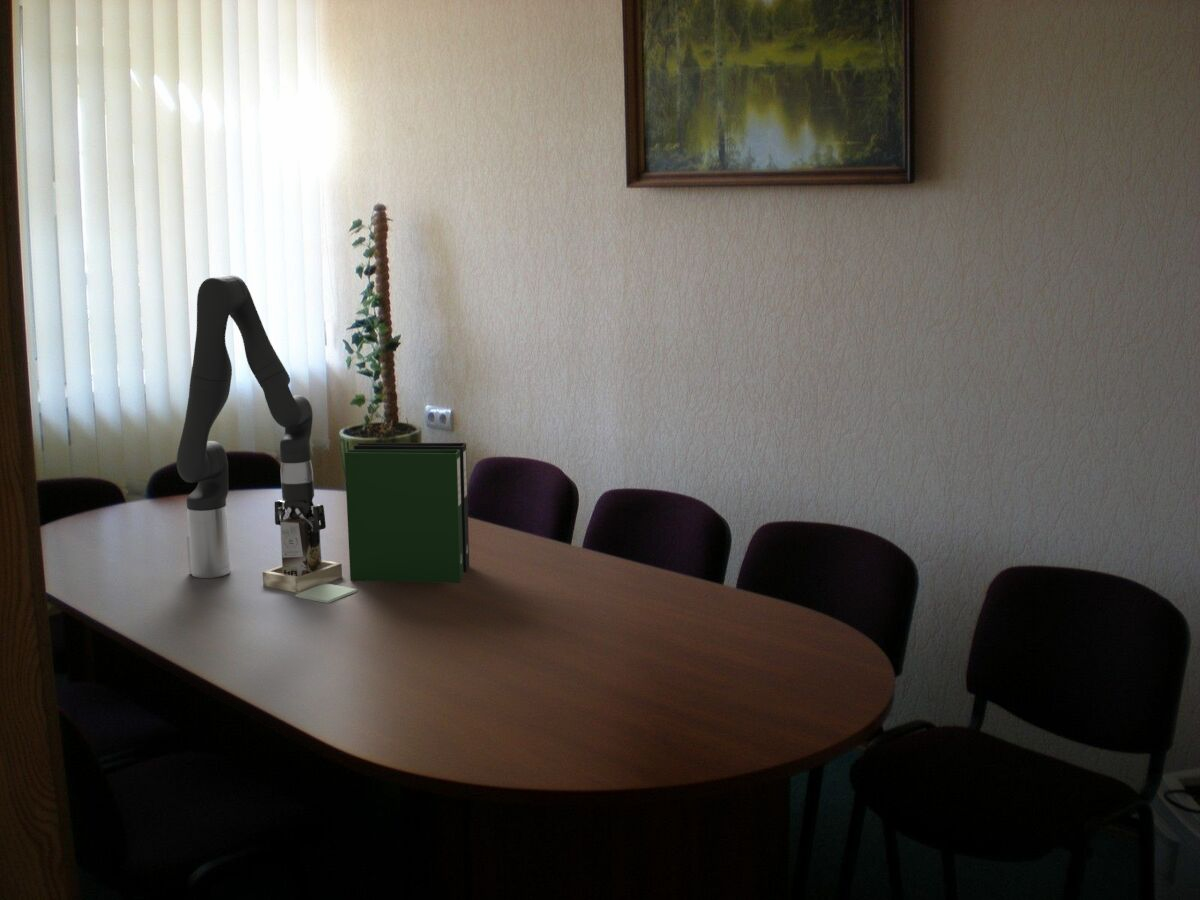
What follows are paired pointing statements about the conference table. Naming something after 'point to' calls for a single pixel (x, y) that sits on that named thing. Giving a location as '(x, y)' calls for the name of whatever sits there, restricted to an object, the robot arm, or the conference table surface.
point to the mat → (326, 593)
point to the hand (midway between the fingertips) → (301, 544)
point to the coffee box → (298, 548)
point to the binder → (407, 512)
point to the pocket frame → (302, 577)
